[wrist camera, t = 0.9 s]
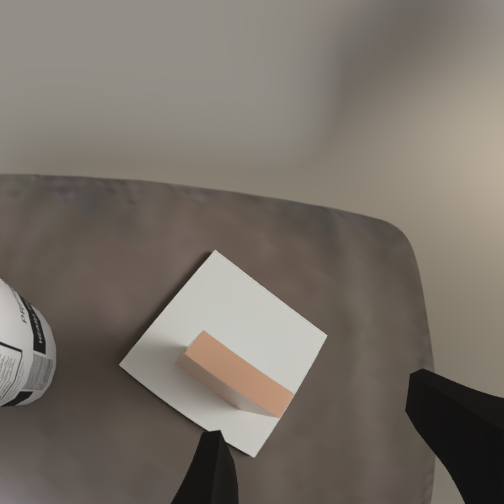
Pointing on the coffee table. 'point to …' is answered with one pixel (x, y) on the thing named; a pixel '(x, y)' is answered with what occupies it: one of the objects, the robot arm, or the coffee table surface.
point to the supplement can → (23, 350)
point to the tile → (233, 377)
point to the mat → (232, 336)
